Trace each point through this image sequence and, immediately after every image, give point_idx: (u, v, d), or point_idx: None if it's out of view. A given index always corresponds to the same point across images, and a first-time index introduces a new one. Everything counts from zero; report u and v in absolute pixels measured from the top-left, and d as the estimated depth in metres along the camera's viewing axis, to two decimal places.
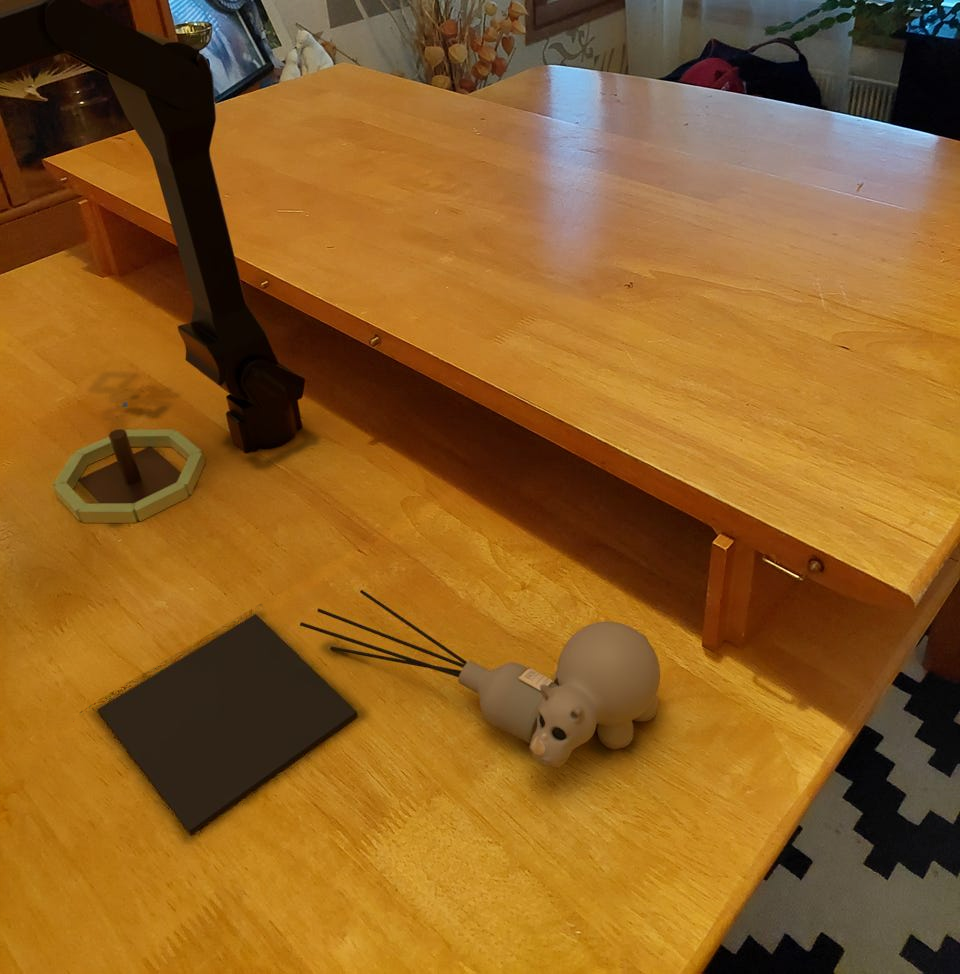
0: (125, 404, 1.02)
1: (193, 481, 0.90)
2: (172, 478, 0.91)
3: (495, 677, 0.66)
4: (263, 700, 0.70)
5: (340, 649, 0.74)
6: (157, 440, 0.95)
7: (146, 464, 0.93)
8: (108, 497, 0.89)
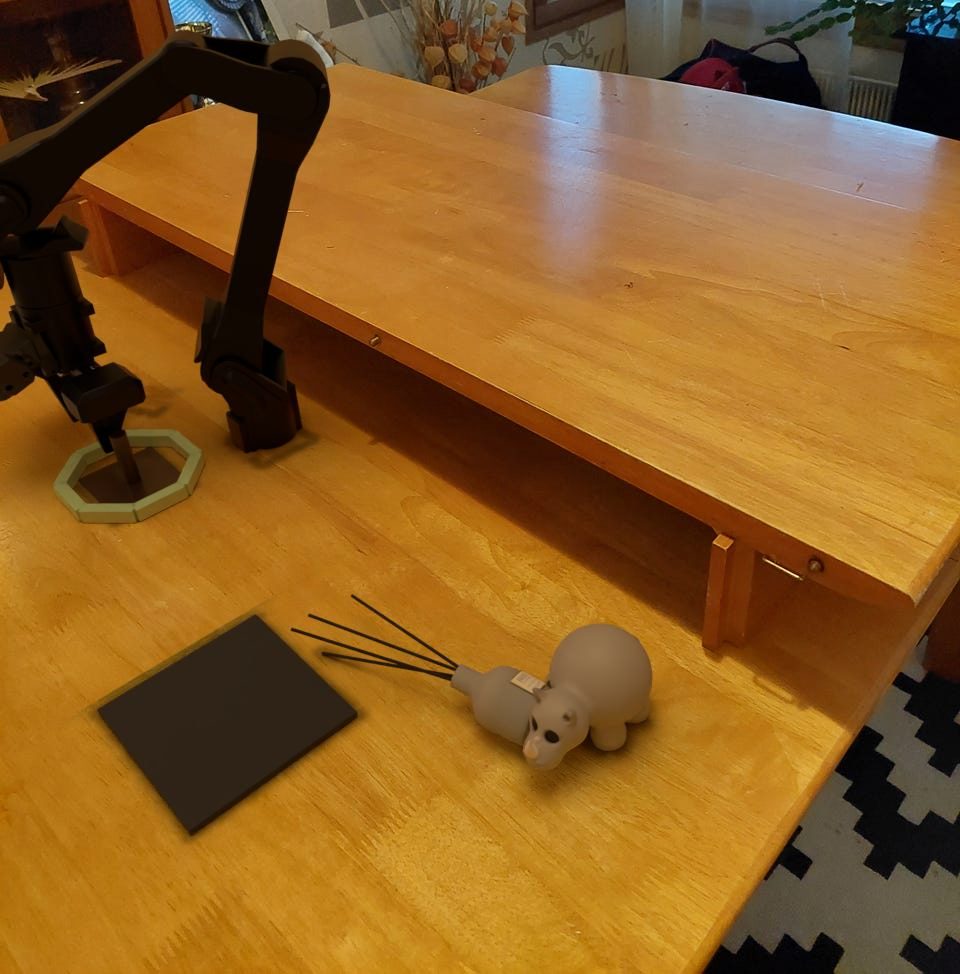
0: None
1: (193, 481, 0.90)
2: (172, 478, 0.91)
3: (487, 680, 0.65)
4: (263, 700, 0.70)
5: (331, 654, 0.73)
6: (157, 440, 0.95)
7: (146, 464, 0.93)
8: (108, 497, 0.89)
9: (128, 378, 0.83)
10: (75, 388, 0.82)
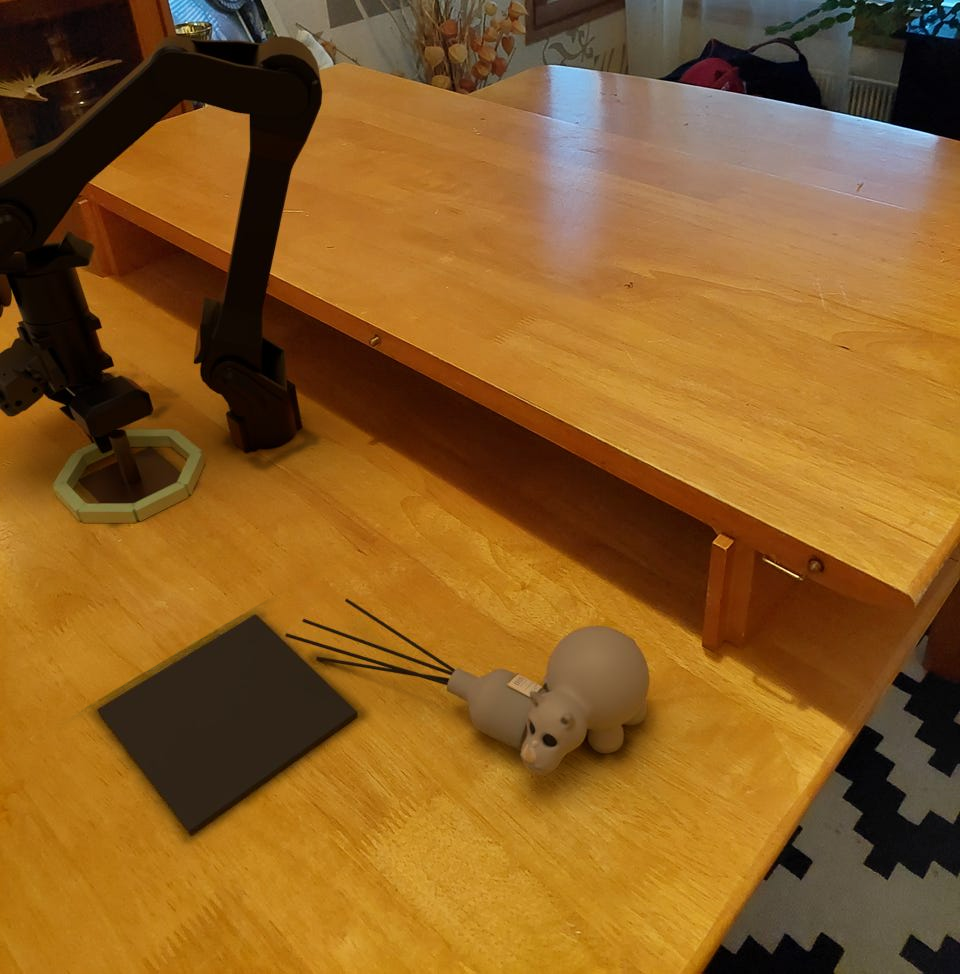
0: None
1: (193, 481, 0.90)
2: (172, 478, 0.91)
3: (484, 684, 0.65)
4: (263, 700, 0.70)
5: (326, 659, 0.73)
6: (157, 440, 0.95)
7: (146, 464, 0.93)
8: (108, 497, 0.89)
9: (135, 391, 0.84)
10: (83, 402, 0.83)
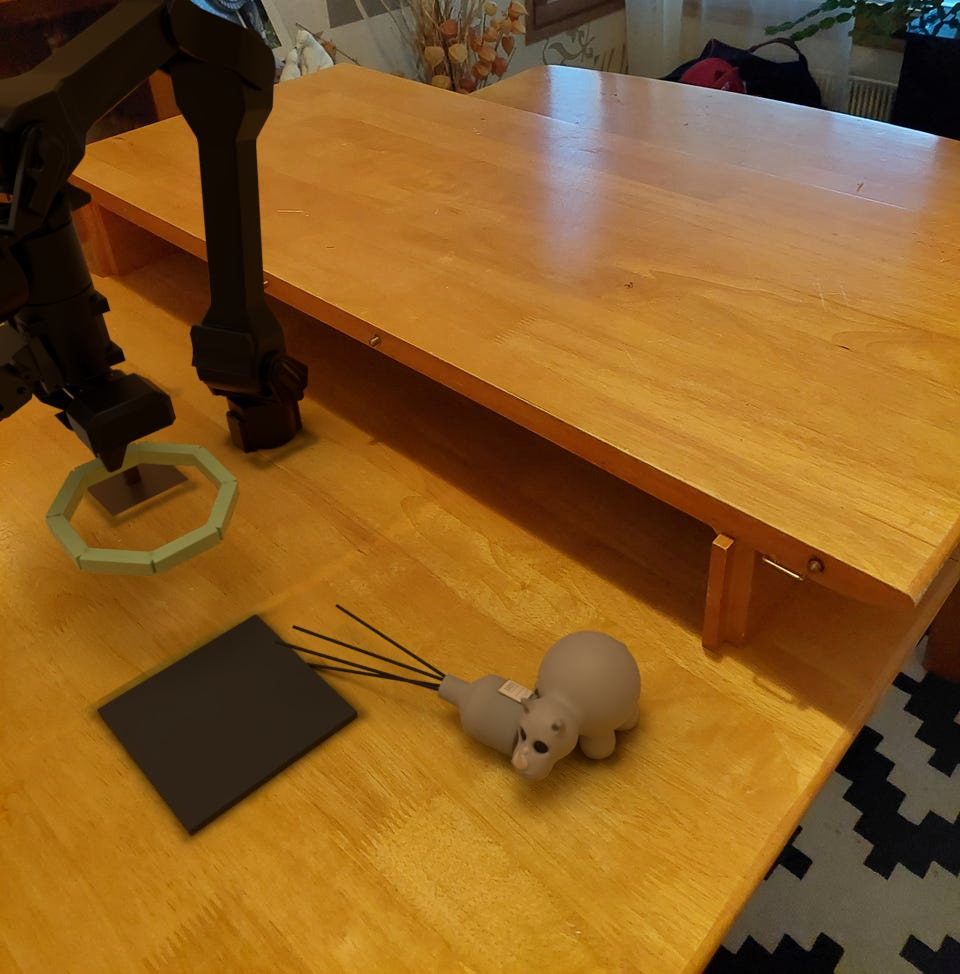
0: None
1: (227, 521, 0.70)
2: (172, 478, 0.91)
3: (475, 690, 0.65)
4: (263, 700, 0.70)
5: (317, 665, 0.73)
6: (178, 458, 0.75)
7: (146, 464, 0.93)
8: (108, 497, 0.89)
9: (153, 394, 0.64)
10: (84, 408, 0.63)
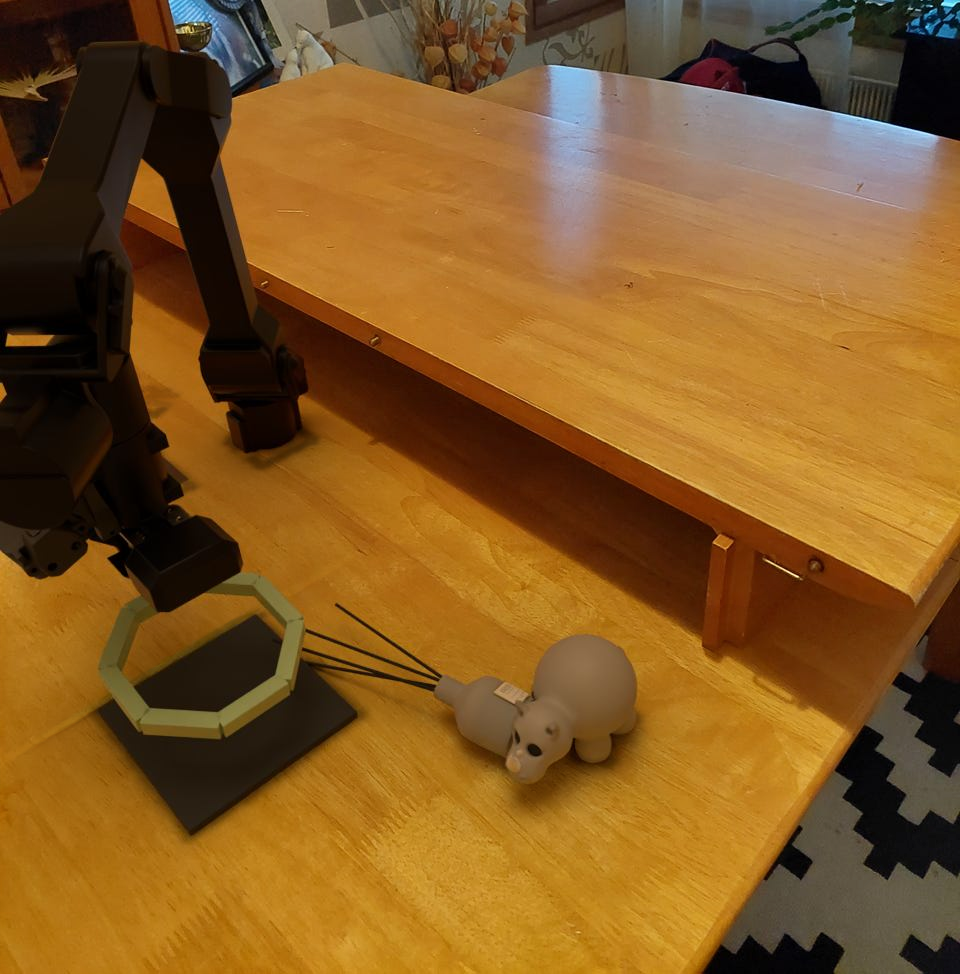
0: None
1: (296, 669, 0.65)
2: None
3: (470, 692, 0.65)
4: None
5: (315, 664, 0.73)
6: (236, 588, 0.69)
7: None
8: None
9: (220, 543, 0.58)
10: (146, 563, 0.57)
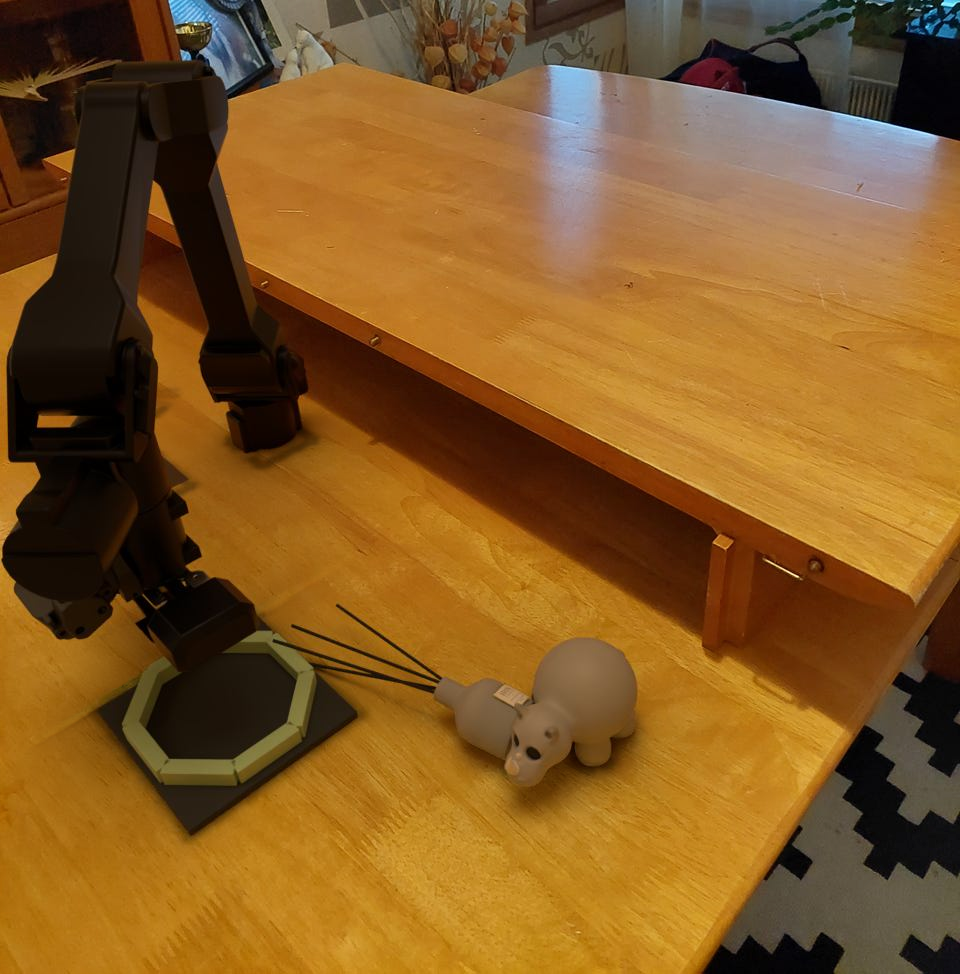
0: None
1: (307, 716, 0.68)
2: (172, 478, 0.91)
3: (470, 694, 0.64)
4: (263, 700, 0.70)
5: (315, 664, 0.73)
6: (251, 646, 0.73)
7: None
8: None
9: (238, 606, 0.61)
10: (168, 625, 0.60)
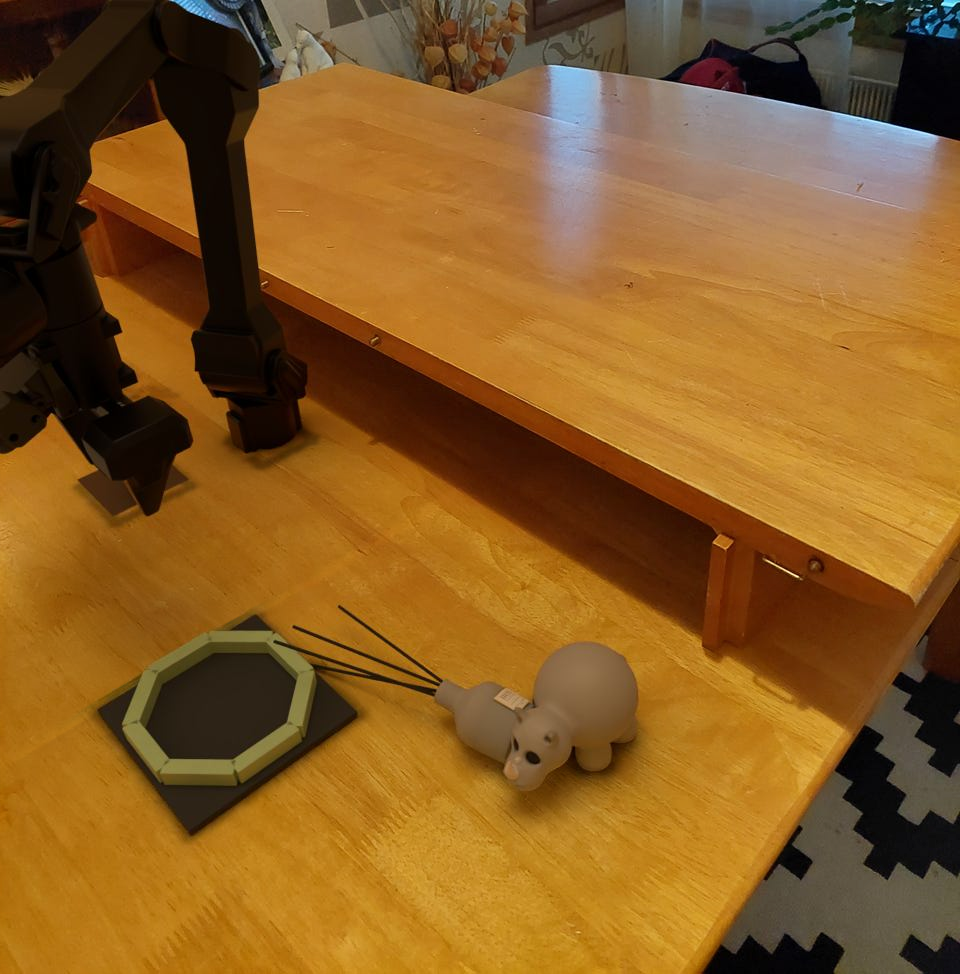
0: None
1: (307, 716, 0.68)
2: (172, 478, 0.91)
3: (470, 697, 0.64)
4: (263, 700, 0.70)
5: (316, 666, 0.73)
6: (251, 646, 0.73)
7: None
8: (108, 497, 0.89)
9: (170, 418, 0.63)
10: (101, 434, 0.61)
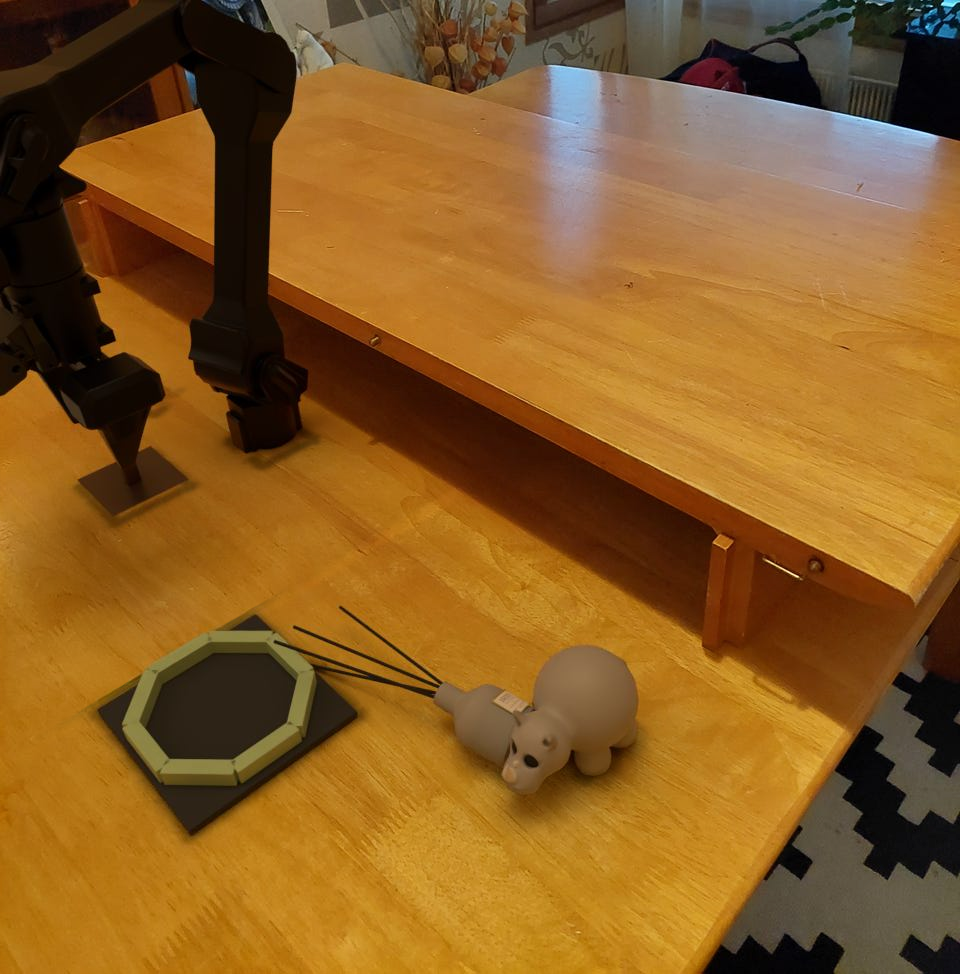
0: None
1: (307, 716, 0.68)
2: (172, 478, 0.91)
3: (469, 700, 0.64)
4: (263, 700, 0.70)
5: (317, 666, 0.73)
6: (251, 646, 0.73)
7: (146, 464, 0.93)
8: (108, 497, 0.89)
9: (143, 371, 0.67)
10: (77, 385, 0.65)
